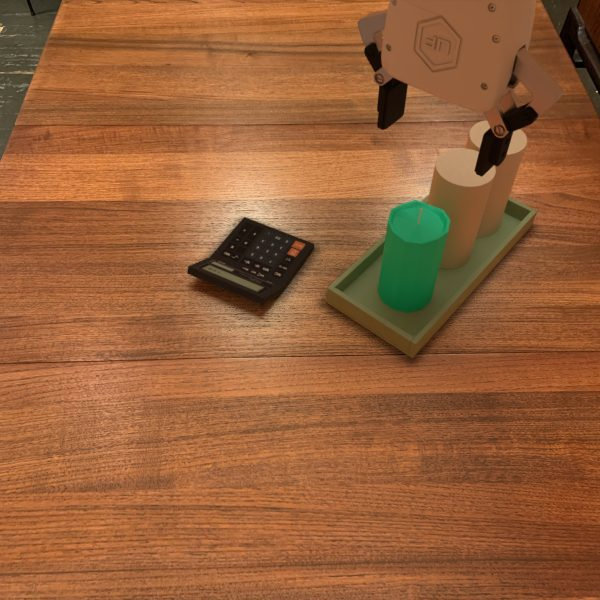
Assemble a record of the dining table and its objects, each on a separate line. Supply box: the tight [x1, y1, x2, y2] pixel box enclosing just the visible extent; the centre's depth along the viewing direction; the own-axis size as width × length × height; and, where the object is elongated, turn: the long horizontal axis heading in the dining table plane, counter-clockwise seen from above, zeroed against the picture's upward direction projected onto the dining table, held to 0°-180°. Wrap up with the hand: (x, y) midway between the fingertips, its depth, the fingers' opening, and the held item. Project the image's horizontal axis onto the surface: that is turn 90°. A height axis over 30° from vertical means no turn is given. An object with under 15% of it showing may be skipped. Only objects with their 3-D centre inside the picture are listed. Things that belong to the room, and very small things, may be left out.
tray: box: [325, 194, 538, 359], centre depth 73 cm, size 11×25×2 cm, turn 139°
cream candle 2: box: [465, 119, 528, 238], centre depth 73 cm, size 6×6×12 cm
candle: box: [378, 199, 450, 313], centre depth 66 cm, size 6×6×12 cm
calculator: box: [186, 216, 315, 307], centre depth 73 cm, size 9×12×3 cm
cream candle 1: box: [427, 147, 496, 269], centre depth 70 cm, size 6×6×12 cm
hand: (436, 143), depth 56 cm, fingers open, 9 cm apart
